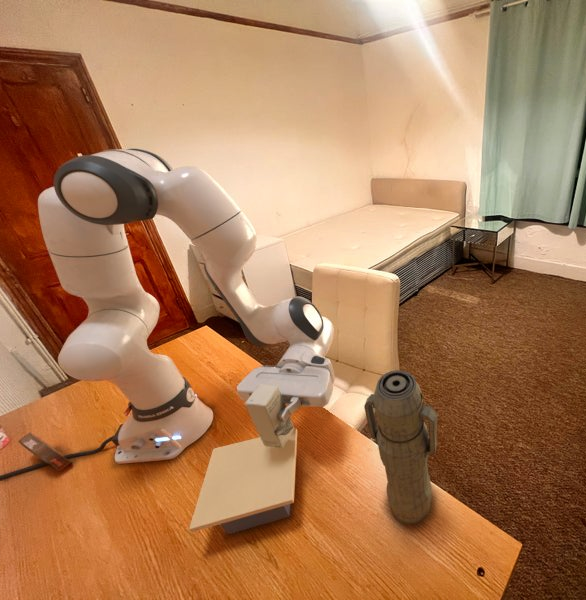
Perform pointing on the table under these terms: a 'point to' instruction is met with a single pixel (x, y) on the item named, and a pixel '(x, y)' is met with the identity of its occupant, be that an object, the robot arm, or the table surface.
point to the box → (269, 415)
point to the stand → (247, 485)
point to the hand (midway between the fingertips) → (267, 418)
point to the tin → (44, 451)
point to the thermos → (403, 443)
